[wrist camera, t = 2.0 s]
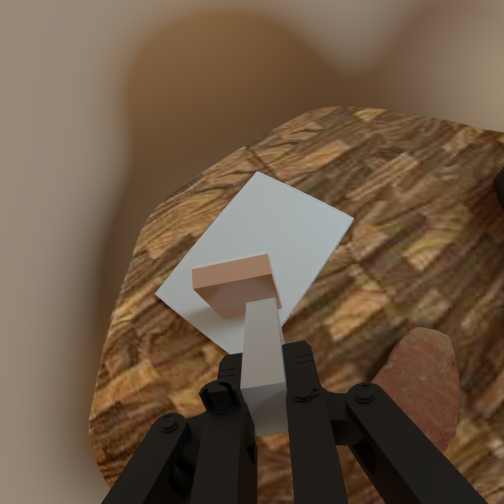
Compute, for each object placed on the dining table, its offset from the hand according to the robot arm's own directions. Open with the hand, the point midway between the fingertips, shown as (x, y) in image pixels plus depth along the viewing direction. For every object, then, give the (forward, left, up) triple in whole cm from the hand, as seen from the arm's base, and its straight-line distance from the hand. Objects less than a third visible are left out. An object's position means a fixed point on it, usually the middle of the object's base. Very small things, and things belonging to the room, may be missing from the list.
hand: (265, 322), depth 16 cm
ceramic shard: (-6, +16, -25) cm, 31 cm away
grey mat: (-10, -13, -25) cm, 30 cm away
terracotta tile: (-4, -9, -24) cm, 26 cm away
